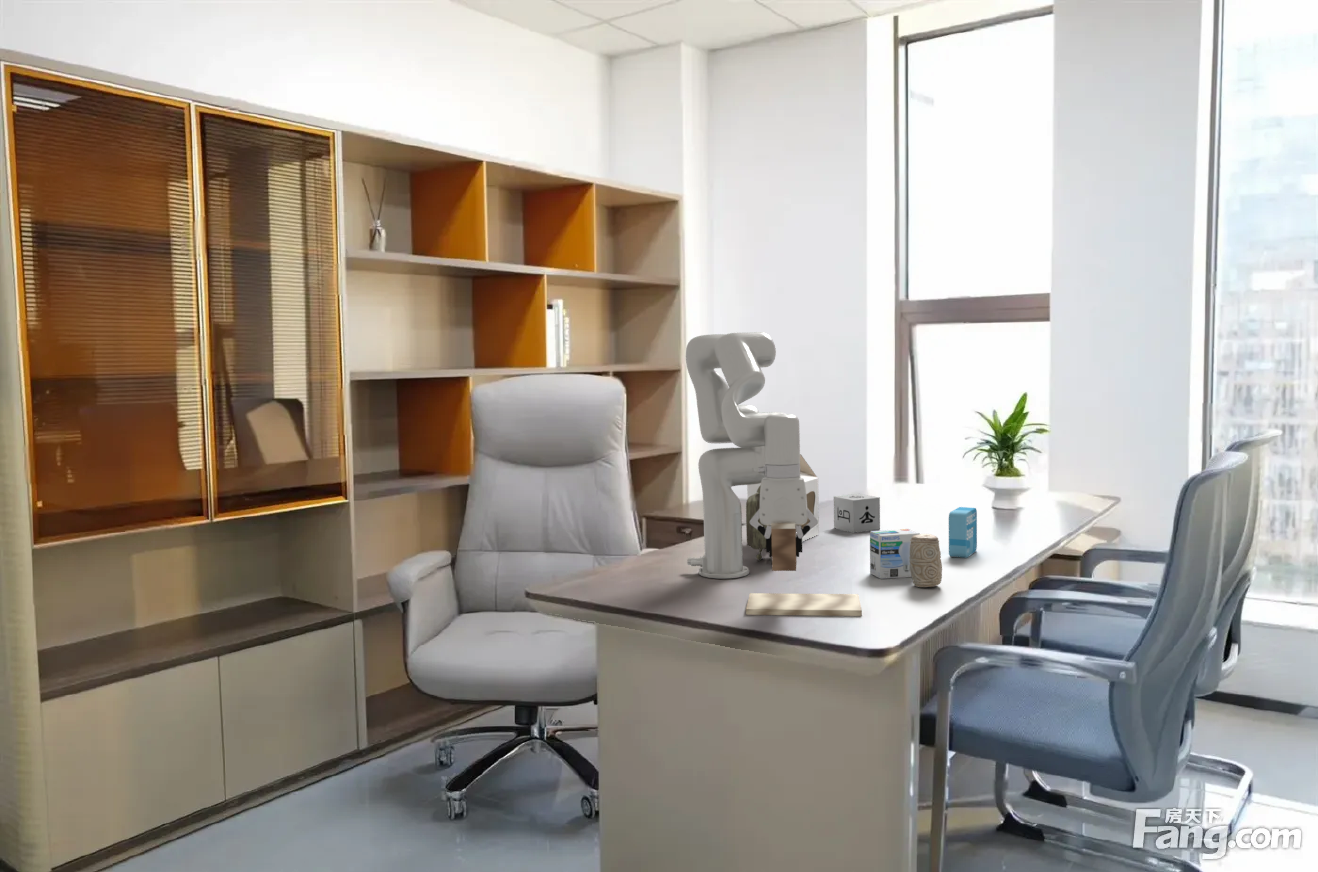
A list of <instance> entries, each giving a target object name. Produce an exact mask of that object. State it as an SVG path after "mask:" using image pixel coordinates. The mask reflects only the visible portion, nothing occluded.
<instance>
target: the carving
mask: <svg viewBox="0 0 1318 872" xmlns="http://www.w3.org/2000/svg"><path fill="white" fill-rule="evenodd" d="M911 538H912V539H911V540H910V541H911V543H910V545H911V546H910V557H909V559H910V560H909V561H910V572H911V576H912V577H911V579H912V583H913V584H914V587H918V588H933V587H936V586H939V585H941V583H942V578H943V564H942V559H941V558H942V557H941V556H942V555H941V554H942V553H941V552H942V551H941V549H940V543H939V542H940V540H939V538H938V536H937V535H934V534H929V533H920V534H918V535H914V536H912V537H911Z"/></svg>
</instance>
